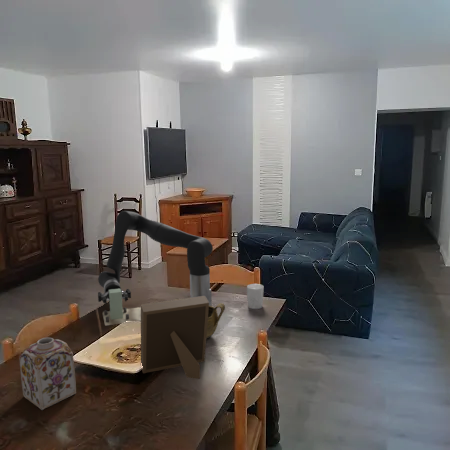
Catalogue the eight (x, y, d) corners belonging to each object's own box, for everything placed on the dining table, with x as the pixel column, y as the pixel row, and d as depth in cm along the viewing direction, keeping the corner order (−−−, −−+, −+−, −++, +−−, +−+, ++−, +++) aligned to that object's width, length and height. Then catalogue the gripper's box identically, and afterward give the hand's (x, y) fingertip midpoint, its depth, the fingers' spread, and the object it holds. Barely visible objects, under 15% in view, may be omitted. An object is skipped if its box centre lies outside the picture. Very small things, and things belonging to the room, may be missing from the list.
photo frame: (140, 367, 148) (137, 298, 144) (200, 356, 156) (199, 290, 151) (149, 390, 135) (146, 314, 130) (214, 376, 142) (214, 305, 138)
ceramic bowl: (231, 333, 175) (231, 298, 172) (215, 351, 160) (214, 313, 157) (182, 325, 183) (181, 291, 181) (162, 342, 168) (161, 305, 165)
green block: (121, 314, 193) (120, 288, 191) (123, 318, 188) (121, 291, 186) (110, 315, 191) (108, 289, 189) (111, 319, 186) (109, 293, 184)
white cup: (245, 308, 202) (245, 288, 200) (249, 302, 209) (249, 283, 207) (261, 310, 199) (261, 289, 198) (265, 304, 207) (265, 284, 205)
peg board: (155, 308, 203) (154, 301, 203) (161, 320, 188) (161, 313, 188) (102, 315, 195) (102, 308, 195) (105, 328, 181) (104, 321, 180)
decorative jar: (57, 381, 140) (53, 329, 137) (77, 393, 133) (73, 339, 130) (21, 397, 131) (15, 342, 128) (40, 411, 124) (35, 353, 121)
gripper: (96, 283, 198) (98, 294, 183) (127, 279, 203) (132, 290, 188) (97, 298, 200) (99, 310, 185) (128, 295, 204) (133, 306, 189)
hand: (116, 300), depth 186 cm, fingers open, 8 cm apart
